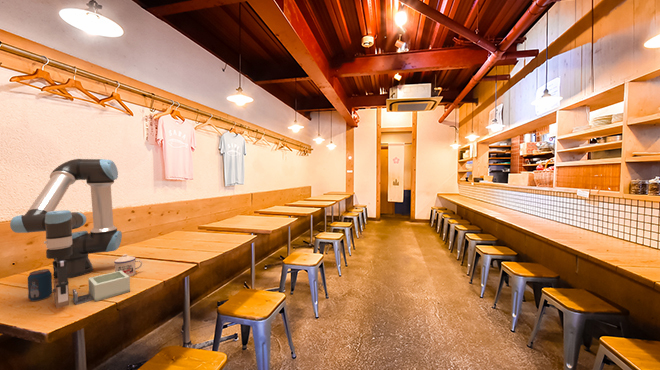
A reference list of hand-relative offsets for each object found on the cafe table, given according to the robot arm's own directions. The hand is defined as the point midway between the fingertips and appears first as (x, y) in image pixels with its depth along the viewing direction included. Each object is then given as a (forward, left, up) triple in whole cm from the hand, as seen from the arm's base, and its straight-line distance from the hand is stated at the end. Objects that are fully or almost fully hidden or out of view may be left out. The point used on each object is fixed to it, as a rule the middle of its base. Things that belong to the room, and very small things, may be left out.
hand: (61, 297), depth 105 cm
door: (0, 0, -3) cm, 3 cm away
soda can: (-15, -5, -3) cm, 16 cm away
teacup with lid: (-17, +27, -3) cm, 32 cm away
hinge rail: (+3, +6, -3) cm, 7 cm away
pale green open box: (+3, +15, -3) cm, 16 cm away
